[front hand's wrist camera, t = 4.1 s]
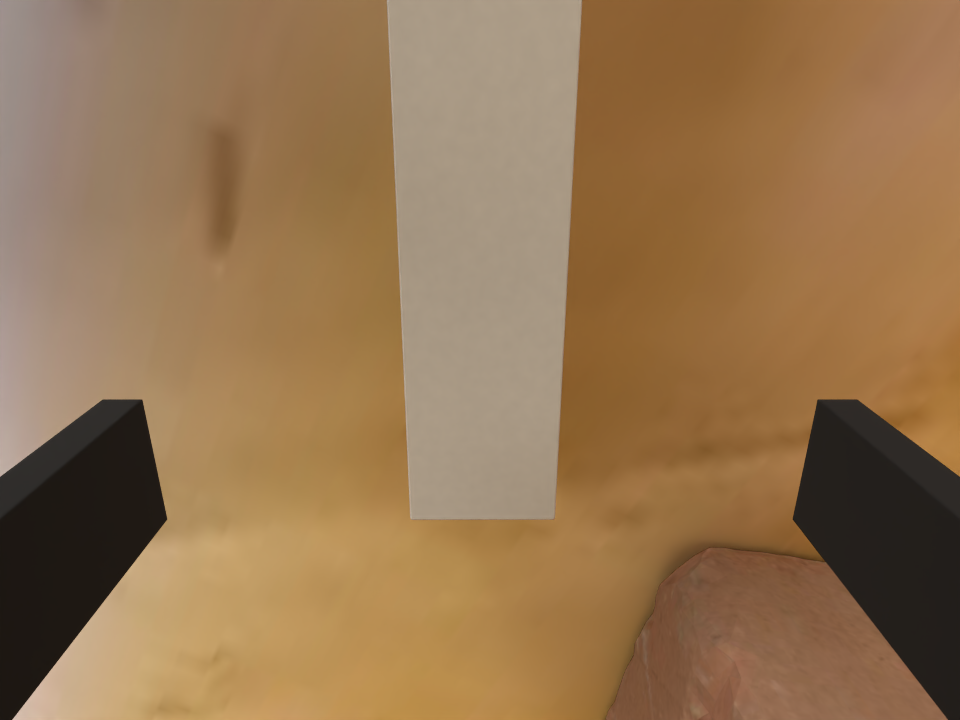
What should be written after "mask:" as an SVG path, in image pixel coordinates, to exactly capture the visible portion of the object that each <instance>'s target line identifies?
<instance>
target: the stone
mask: <svg viewBox="0 0 960 720" xmlns="http://www.w3.org/2000/svg"><path fill="white" fill-rule="evenodd" d="M605 720H948V719H947V718H946V717H945V715H944V714H943V713H942V712H941V710H940V709H939V708H938V706H937V705H936V704H935V702H934V701H933V700H932V699H931V697H930V696H929V695H928V693H927V692H926V691H925V690H924V688H923V687H922V686H921V684H920V683H919V682H918V681H917V679H916V678H915V677H914V675H913V674H912V673H911V671H910V670H909V669H908V668H907V666H906V665H905V664H904V662H903V661H902V660H901V659H900V657H899V656H898V655H897V653H896V652H895V651H894V650H893V648H892V647H891V646H890V644H889V643H888V642H887V640H886V639H885V638H884V637H883V635H882V634H881V633H880V631H879V630H878V629H877V628H876V626H875V625H874V624H873V622H872V621H871V620H870V618H869V617H868V616H867V615H866V613H865V612H864V611H863V609H862V608H861V607H860V606H859V604H858V603H857V602H856V600H855V599H854V598H853V597H852V595H851V594H850V593H849V591H848V590H847V589H846V587H845V586H844V585H843V584H842V582H841V581H840V580H839V578H838V577H837V576H836V575H835V573H834V572H833V571H832V569H831V568H830V567H829V566H828V564H827V563H826V562H820V561H813V560H806V559H801V558H797V557H792V556H786V555H776V554H770V553H764V552H752V551H742V550H735V549H729V548H713V547H709V548H707V549H706V550H704V551H702V552H700V553H698V554H696V555H695V556H693V557H692V558H690V559H689V560H688V561H687V562H685V563H684V564H683V565H681V566H680V567H679V568H677V569H676V570H675V571H674V572H673V573H672V574H671V575H670V576H669V577H667V578H666V579H665V580H664V581H663V582H662V583H661V584H660V585H659V589H658V592H657V595H656V601H655V608H654V611H653V614H652V615H651V616H650V618H649V619H648V620H647V622H646V623H645V625H644V627H643V629H642V631H641V633H640V635H639V637H638V638H637V640H636V642H635V648H634V656H633V657H632V659H631V661H630V663H629V665H628V666H627V668H626V670H625V673H624V676H623V679H622V681H621V684H620V687H619V690H618V693H617V696H616V700H615V702H614V703H613V705H612V706H611V708H610V709H609V711H608V714H607V717H606V719H605Z"/></svg>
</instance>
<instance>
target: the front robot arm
mask: <svg viewBox="0 0 960 720" xmlns="http://www.w3.org/2000/svg"><path fill="white" fill-rule="evenodd" d="M166 520H167V516H166V511H165V506H164V501H163V497H162V492H161V487H160V482H159V477H158V473H157V468H156V463H155V458H154V454H153V449H152V444H151V439H150V434H149V430H148V425H147V420H146V415H145V410H144V406H143V401H142V400H102V401H100V402H99V403H98V404H96V405H95V406H94V407H92V408H91V409H90V410H88V411H87V412H86V413H84V414H83V415H82V416H80V417H79V418H78V419H76V420H75V421H74V422H72V423H71V424H70V425H69V426H67V427H66V428H65V429H63V430H62V431H61V432H59V433H58V434H57V435H55V436H54V437H53V438H51V439H50V440H49V441H47V442H46V443H45V444H43V445H42V446H41V447H39V448H38V449H37V450H35V451H34V452H33V453H31V454H30V455H29V456H27V457H26V458H25V459H23V460H22V461H21V462H19V463H18V464H17V465H15V466H14V467H13V468H11V469H10V470H9V471H7V472H6V473H5V474H4V475H2V476H1V477H0V720H12V719H13V718H14V717H15V715H16V714H17V713H18V712H19V710H20V709H21V708H22V706H23V705H24V704H25V702H26V701H27V700H28V699H29V697H30V696H31V695H32V693H33V692H34V691H35V690H36V688H37V687H38V686H39V684H40V683H41V682H42V681H43V679H44V678H45V677H46V675H47V674H48V673H49V671H50V670H51V669H52V668H53V666H54V665H55V664H56V662H57V661H58V660H59V659H60V657H61V656H62V655H63V653H64V652H65V651H66V650H67V648H68V647H69V646H70V644H71V643H72V642H73V640H74V639H75V638H76V637H77V635H78V634H79V633H80V631H81V630H82V629H83V628H84V626H85V625H86V624H87V622H88V621H89V620H90V618H91V617H92V616H93V615H94V613H95V612H96V611H97V609H98V608H99V607H100V606H101V604H102V603H103V602H104V600H105V599H106V598H107V597H108V595H109V594H110V593H111V591H112V590H113V589H114V587H115V586H116V585H117V584H118V582H119V581H120V580H121V578H122V577H123V576H124V575H125V573H126V572H127V571H128V569H129V568H130V567H131V566H132V564H133V563H134V562H135V560H136V559H137V558H138V556H139V555H140V554H141V553H142V551H143V550H144V549H145V547H146V546H147V545H148V544H149V542H150V541H151V540H152V538H153V537H154V536H155V535H156V533H157V532H158V531H159V529H160V528H161V527H162V525H163V524H164V523H165V522H166ZM793 520H794V522H795V523H796V524H797V525H798V527H799V528H800V529H801V531H802V532H803V533H804V535H805V536H806V537H807V538H808V540H809V541H810V542H811V544H812V545H813V546H814V547H815V549H816V550H817V551H818V553H819V554H820V555H821V556H822V558H823V559H824V560H825V562H826V563H827V564H828V566H829V567H830V568H831V569H832V571H833V572H834V573H835V575H836V576H837V577H838V578H839V580H840V581H841V582H842V584H843V585H844V586H845V587H846V589H847V590H848V591H849V593H850V594H851V595H852V597H853V598H854V599H855V600H856V602H857V603H858V604H859V606H860V607H861V608H862V609H863V611H864V612H865V613H866V615H867V616H868V617H869V618H870V620H871V621H872V622H873V624H874V625H875V626H876V628H877V629H878V630H879V631H880V633H881V634H882V635H883V637H884V638H885V639H886V640H887V642H888V643H889V644H890V646H891V647H892V648H893V650H894V651H895V652H896V653H897V655H898V656H899V657H900V659H901V660H902V661H903V662H904V664H905V665H906V666H907V668H908V669H909V670H910V671H911V673H912V674H913V675H914V677H915V678H916V679H917V681H918V682H919V683H920V684H921V686H922V687H923V688H924V690H925V691H926V692H927V693H928V695H929V696H930V697H931V699H932V700H933V701H934V702H935V704H936V705H937V706H938V708H939V709H940V710H941V712H942V713H943V714H944V715H945V717H946V718H947V719H948V720H960V477H959V476H958V475H956V474H955V473H954V472H953V471H951V470H950V469H949V468H947V467H946V466H945V465H943V464H942V463H941V462H939V461H938V460H937V459H935V458H934V457H933V456H931V455H930V454H929V453H927V452H926V451H925V450H923V449H922V448H921V447H919V446H918V445H917V444H915V443H914V442H913V441H911V440H910V439H909V438H907V437H906V436H905V435H903V434H902V433H901V432H899V431H898V430H897V429H895V428H894V427H893V426H891V425H890V424H889V423H888V422H886V421H885V420H884V419H882V418H881V417H880V416H878V415H877V414H876V413H874V412H873V411H872V410H870V409H869V408H868V407H866V406H865V405H864V404H862V403H861V402H860V401H858V400H818V401H817V406H816V410H815V415H814V420H813V425H812V430H811V434H810V439H809V444H808V449H807V454H806V458H805V463H804V468H803V473H802V477H801V482H800V487H799V492H798V497H797V501H796V506H795V511H794V516H793Z"/></svg>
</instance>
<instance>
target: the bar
mask: <svg viewBox="0 0 960 720" xmlns="http://www.w3.org/2000/svg"><path fill="white" fill-rule="evenodd" d="M387 11H388V33H389V55H390V77H391V100H392V122H393V144H394V166H395V188H396V210H397V233H398V255H399V277H400V299H401V321H402V343H403V366H404V388H405V410H406V432H407V454H408V476H409V499H410V518H411V520H553V519H555V506H556V487H557V468H558V449H559V430H560V411H561V392H562V373H563V354H564V335H565V316H566V297H567V278H568V259H569V240H570V221H571V202H572V183H573V164H574V145H575V126H576V107H577V88H578V69H579V50H580V31H581V12H582V0H387Z"/></svg>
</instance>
